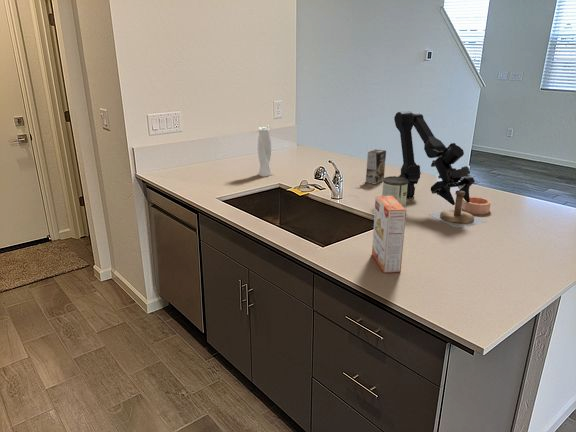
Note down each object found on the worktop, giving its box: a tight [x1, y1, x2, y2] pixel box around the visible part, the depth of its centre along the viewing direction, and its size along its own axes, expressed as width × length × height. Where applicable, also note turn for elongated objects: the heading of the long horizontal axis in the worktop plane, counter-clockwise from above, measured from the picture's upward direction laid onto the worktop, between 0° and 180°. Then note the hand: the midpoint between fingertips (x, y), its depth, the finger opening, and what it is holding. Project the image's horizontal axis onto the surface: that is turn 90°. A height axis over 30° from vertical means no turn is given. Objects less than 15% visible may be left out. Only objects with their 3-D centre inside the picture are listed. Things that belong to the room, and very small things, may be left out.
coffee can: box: [381, 175, 408, 209], centre depth 190 cm, size 10×10×14 cm
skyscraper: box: [256, 124, 274, 178], centre depth 242 cm, size 8×8×28 cm
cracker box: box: [371, 195, 407, 274], centre depth 142 cm, size 14×6×21 cm, turn 5°
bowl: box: [461, 196, 492, 215], centre depth 193 cm, size 11×11×4 cm
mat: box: [428, 211, 487, 229], centre depth 184 cm, size 16×16×1 cm
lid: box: [439, 190, 475, 224], centre depth 182 cm, size 13×13×11 cm
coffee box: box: [365, 149, 387, 185], centre depth 233 cm, size 9×6×16 cm
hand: (461, 203), depth 180 cm, fingers open, 7 cm apart
